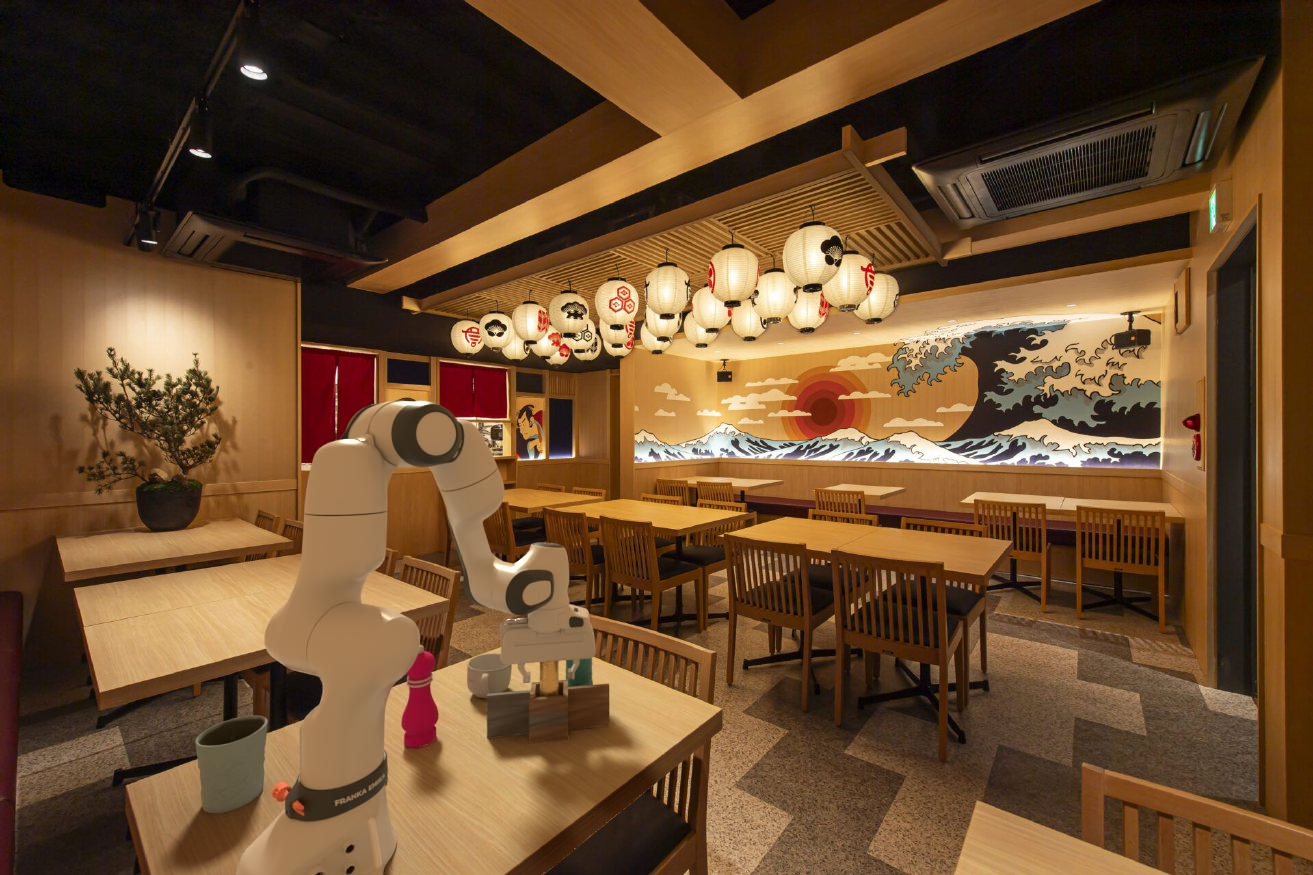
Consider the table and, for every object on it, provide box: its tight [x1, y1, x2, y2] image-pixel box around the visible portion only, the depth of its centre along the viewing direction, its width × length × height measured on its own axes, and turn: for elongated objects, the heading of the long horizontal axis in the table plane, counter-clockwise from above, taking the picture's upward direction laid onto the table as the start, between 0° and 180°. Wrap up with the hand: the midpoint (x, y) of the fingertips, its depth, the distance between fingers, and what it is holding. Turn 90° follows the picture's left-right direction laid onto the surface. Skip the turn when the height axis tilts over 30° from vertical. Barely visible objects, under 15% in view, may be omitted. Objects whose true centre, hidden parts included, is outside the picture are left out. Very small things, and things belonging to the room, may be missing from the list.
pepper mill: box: [400, 644, 440, 749], centre depth 112 cm, size 7×7×20 cm
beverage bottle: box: [565, 658, 594, 687], centre depth 125 cm, size 6×7×20 cm
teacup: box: [466, 652, 513, 699], centre depth 130 cm, size 14×11×8 cm
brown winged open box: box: [486, 679, 611, 744], centre depth 115 cm, size 8×26×9 cm, turn 99°
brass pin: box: [539, 661, 560, 697], centre depth 115 cm, size 4×4×16 cm
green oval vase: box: [195, 715, 268, 814], centre depth 94 cm, size 10×10×12 cm
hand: (549, 679), depth 115 cm, fingers open, 8 cm apart
